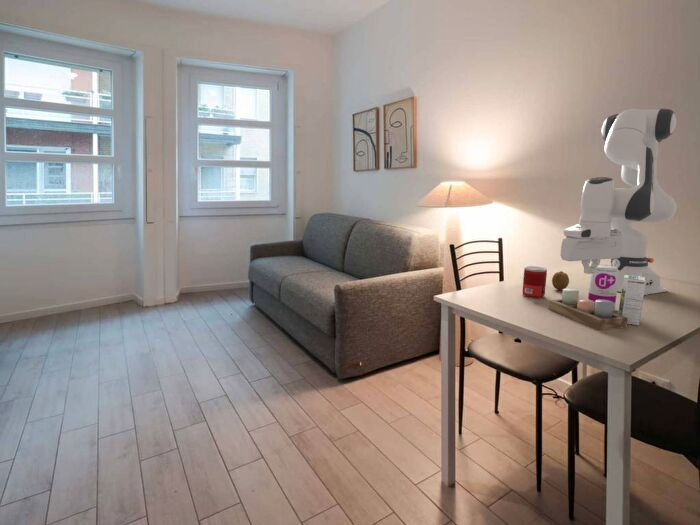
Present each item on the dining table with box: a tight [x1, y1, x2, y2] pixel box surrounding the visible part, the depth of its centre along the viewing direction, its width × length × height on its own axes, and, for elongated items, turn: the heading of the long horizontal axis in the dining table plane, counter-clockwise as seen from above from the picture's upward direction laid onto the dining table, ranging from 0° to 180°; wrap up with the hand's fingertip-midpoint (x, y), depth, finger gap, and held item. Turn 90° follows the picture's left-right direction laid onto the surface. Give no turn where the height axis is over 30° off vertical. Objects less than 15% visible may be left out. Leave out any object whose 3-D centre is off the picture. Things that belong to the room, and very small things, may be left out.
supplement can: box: [587, 264, 619, 310], centre depth 140 cm, size 8×8×15 cm
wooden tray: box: [547, 298, 628, 331], centre depth 132 cm, size 10×22×3 cm, turn 12°
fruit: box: [551, 270, 570, 291], centre depth 166 cm, size 6×6×8 cm
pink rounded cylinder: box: [577, 298, 595, 312], centre depth 132 cm, size 5×5×5 cm
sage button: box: [561, 288, 580, 306], centre depth 138 cm, size 5×5×5 cm
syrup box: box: [617, 275, 646, 326], centre depth 126 cm, size 6×6×14 cm
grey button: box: [594, 299, 614, 319], centre depth 125 cm, size 5×5×5 cm
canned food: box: [522, 265, 548, 299], centre depth 157 cm, size 8×8×11 cm
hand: (589, 273), depth 130 cm, fingers closed
